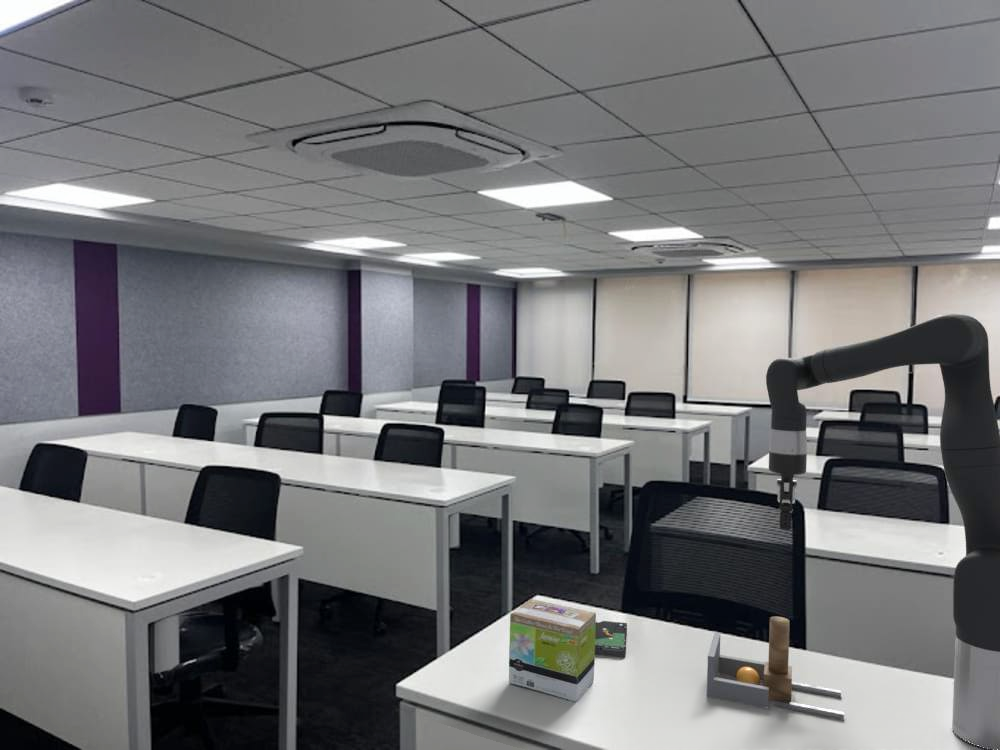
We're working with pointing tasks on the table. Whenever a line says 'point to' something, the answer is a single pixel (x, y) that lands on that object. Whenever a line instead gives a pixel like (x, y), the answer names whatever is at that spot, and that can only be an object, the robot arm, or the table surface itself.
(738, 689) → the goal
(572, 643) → the tea box
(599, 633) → the disk drive
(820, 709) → the track
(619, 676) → the table surface
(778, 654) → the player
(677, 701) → the table surface
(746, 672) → the ball
